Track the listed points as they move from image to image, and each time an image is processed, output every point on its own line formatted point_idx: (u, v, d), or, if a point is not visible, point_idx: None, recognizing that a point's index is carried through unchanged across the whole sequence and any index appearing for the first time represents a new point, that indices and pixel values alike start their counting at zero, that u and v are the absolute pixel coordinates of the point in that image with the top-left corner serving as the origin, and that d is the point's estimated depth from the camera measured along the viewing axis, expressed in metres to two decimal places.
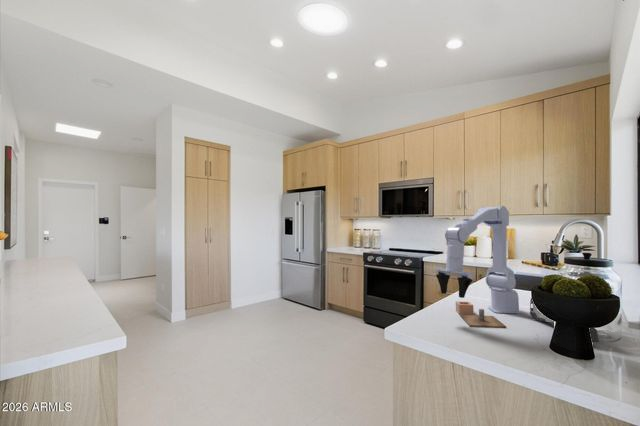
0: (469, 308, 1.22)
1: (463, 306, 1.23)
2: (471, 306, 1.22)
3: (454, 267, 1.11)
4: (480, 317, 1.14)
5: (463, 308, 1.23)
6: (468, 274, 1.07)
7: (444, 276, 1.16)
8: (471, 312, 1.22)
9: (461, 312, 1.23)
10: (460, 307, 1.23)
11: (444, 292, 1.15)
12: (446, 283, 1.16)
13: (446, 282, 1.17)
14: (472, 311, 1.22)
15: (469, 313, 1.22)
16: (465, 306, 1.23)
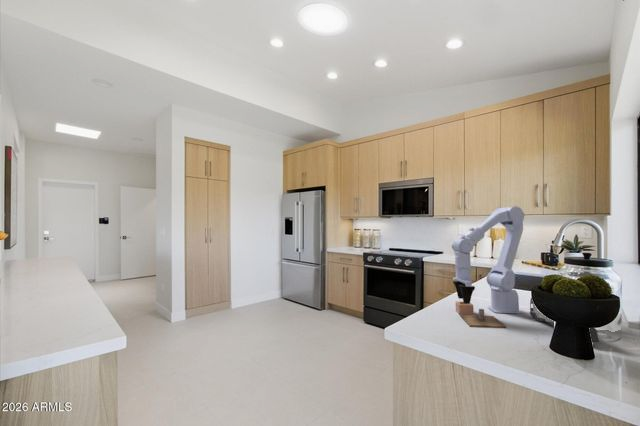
0: (469, 308, 1.22)
1: (463, 306, 1.23)
2: (471, 306, 1.22)
3: (458, 275, 1.24)
4: (480, 317, 1.14)
5: (463, 308, 1.23)
6: (465, 282, 1.19)
7: (459, 283, 1.29)
8: (471, 312, 1.22)
9: (461, 312, 1.23)
10: (460, 307, 1.23)
11: (461, 297, 1.29)
12: None
13: None
14: (472, 311, 1.22)
15: (469, 313, 1.22)
16: (465, 306, 1.23)
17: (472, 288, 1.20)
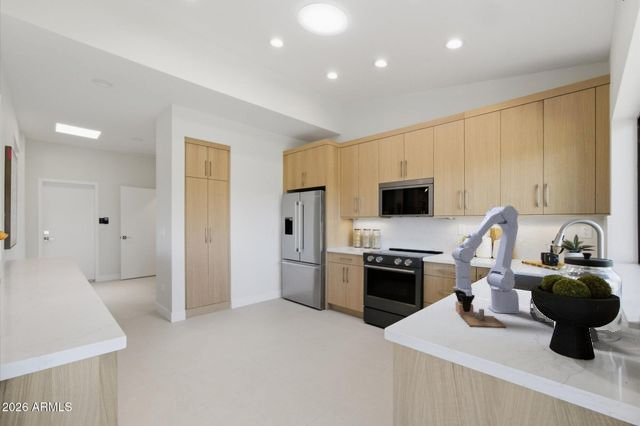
0: None
1: None
2: (471, 306, 1.22)
3: (459, 284, 1.24)
4: (480, 317, 1.14)
5: None
6: (465, 292, 1.19)
7: (460, 292, 1.28)
8: (471, 312, 1.22)
9: (461, 312, 1.23)
10: (460, 307, 1.23)
11: None
12: None
13: None
14: (472, 311, 1.22)
15: (469, 313, 1.22)
16: None
17: (472, 297, 1.20)
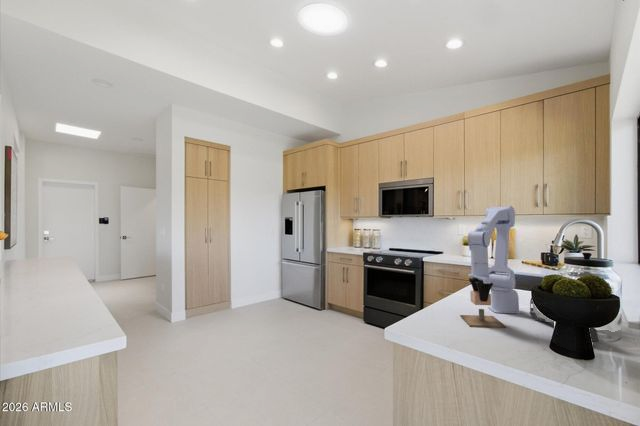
0: None
1: None
2: None
3: (475, 272, 1.13)
4: (480, 317, 1.14)
5: (479, 298, 1.12)
6: (483, 279, 1.08)
7: (476, 280, 1.17)
8: (488, 302, 1.11)
9: (478, 302, 1.12)
10: (476, 297, 1.12)
11: None
12: None
13: None
14: (489, 301, 1.11)
15: (486, 303, 1.11)
16: None
17: (490, 285, 1.09)
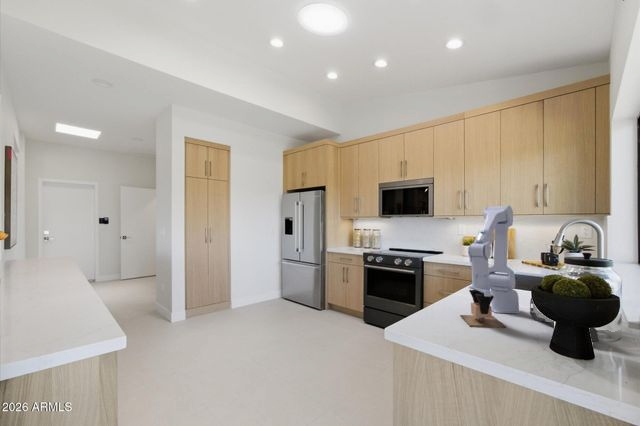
0: None
1: None
2: (489, 308, 1.11)
3: (475, 284, 1.13)
4: None
5: None
6: (484, 292, 1.08)
7: (477, 292, 1.17)
8: (489, 314, 1.11)
9: (478, 314, 1.12)
10: (477, 309, 1.12)
11: None
12: None
13: None
14: (490, 313, 1.11)
15: (487, 316, 1.11)
16: None
17: (490, 297, 1.09)
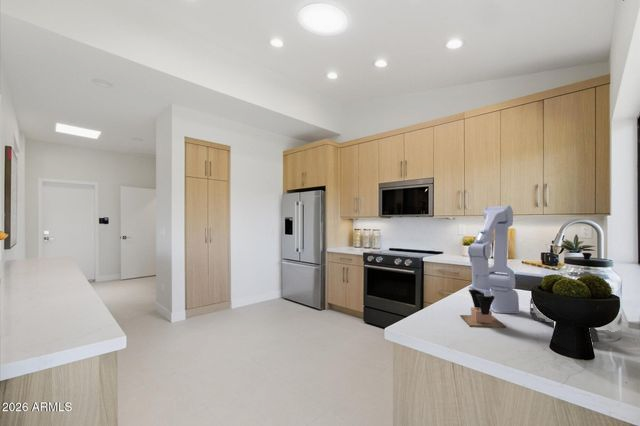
0: (487, 315, 1.11)
1: (480, 313, 1.12)
2: (489, 313, 1.11)
3: (475, 284, 1.13)
4: None
5: (480, 315, 1.12)
6: (484, 292, 1.08)
7: (476, 291, 1.18)
8: (489, 319, 1.11)
9: (479, 319, 1.12)
10: (477, 314, 1.12)
11: (478, 307, 1.18)
12: None
13: None
14: (490, 318, 1.11)
15: (487, 321, 1.11)
16: None
17: (491, 298, 1.08)
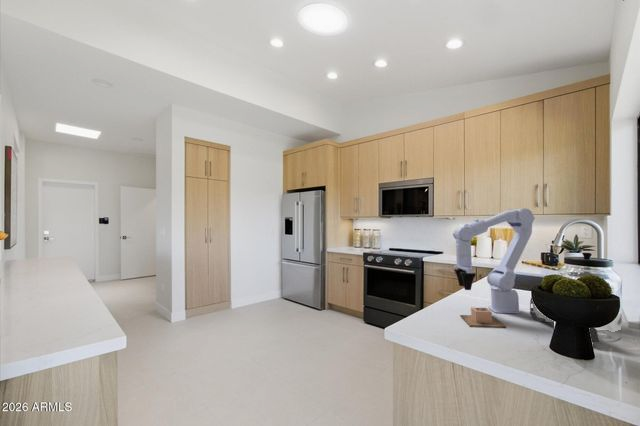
0: (487, 315, 1.11)
1: (480, 313, 1.12)
2: (489, 313, 1.11)
3: (459, 263, 1.26)
4: None
5: (480, 315, 1.12)
6: (466, 269, 1.21)
7: (460, 271, 1.31)
8: (489, 319, 1.11)
9: (479, 319, 1.12)
10: (477, 314, 1.12)
11: (462, 285, 1.31)
12: None
13: None
14: (490, 318, 1.11)
15: (487, 321, 1.11)
16: (482, 313, 1.11)
17: (473, 275, 1.21)
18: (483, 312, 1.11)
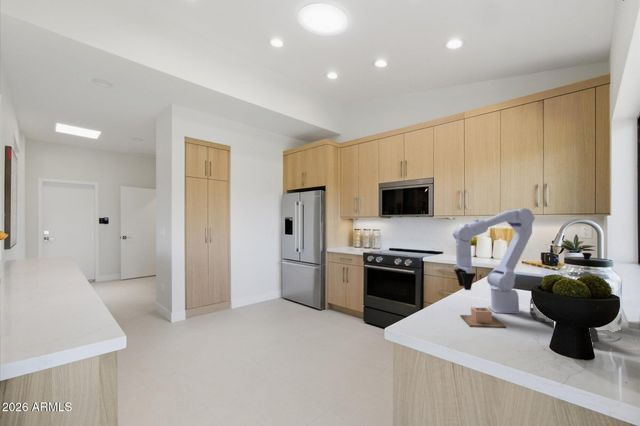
0: (487, 315, 1.11)
1: (480, 313, 1.12)
2: (489, 313, 1.11)
3: (459, 263, 1.26)
4: None
5: (480, 315, 1.12)
6: (466, 269, 1.21)
7: (460, 271, 1.31)
8: (489, 319, 1.11)
9: (479, 319, 1.12)
10: (477, 314, 1.12)
11: (462, 285, 1.31)
12: None
13: None
14: (490, 318, 1.11)
15: (487, 321, 1.11)
16: (482, 313, 1.11)
17: (473, 275, 1.21)
18: (483, 312, 1.11)
